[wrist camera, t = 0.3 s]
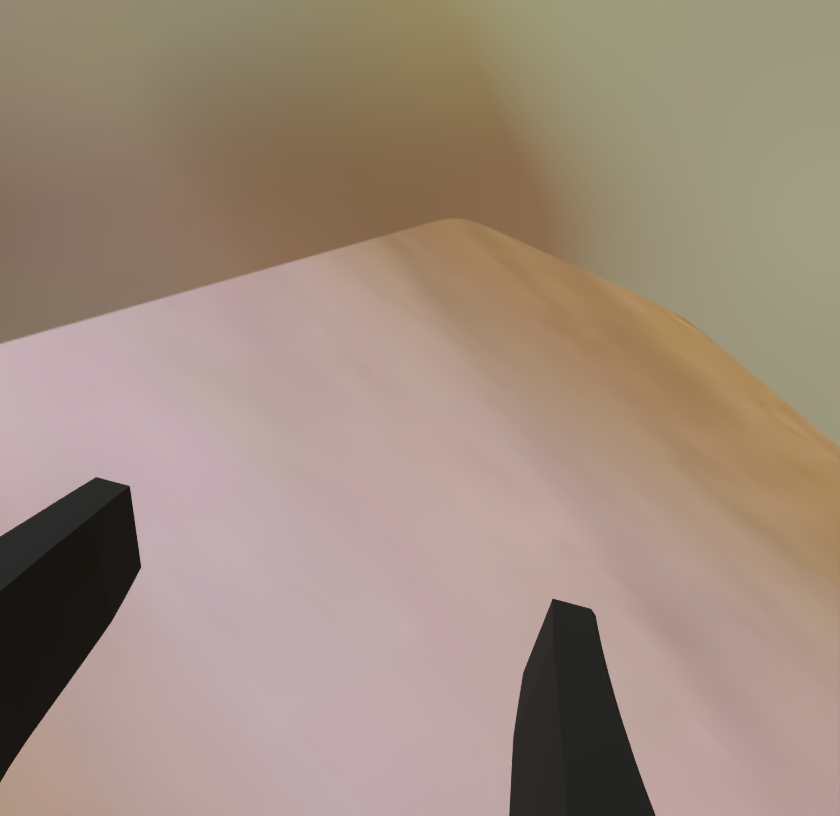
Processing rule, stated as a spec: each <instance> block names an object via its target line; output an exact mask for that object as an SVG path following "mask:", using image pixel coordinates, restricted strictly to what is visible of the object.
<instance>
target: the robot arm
mask: <svg viewBox="0 0 840 816" xmlns="http://www.w3.org/2000/svg"><path fill="white" fill-rule="evenodd" d="M140 568H141V563H140V556H139V548H138V541H137V534H136V527H135V520H134V513H133V506H132V499H131V492H130V486H127V485H123V484H120V483H116V482H112V481H108V480H105V479H101V478H97V477H96V478H94V479H93V480H91V481H89V482H88V483H86V484H84V485H83V486H81V487H79V488H78V489H76V490H74V491H73V492H71V493H70V494H68V495H66V496H65V497H63V498H61V499H60V500H58V501H57V502H55V503H53V504H52V505H50V506H49V507H47V508H46V509H44V510H42V511H41V512H39V513H38V514H36V515H34V516H33V517H31V518H30V519H28V520H26V521H25V522H23V523H22V524H20V525H18V526H17V527H15V528H13V529H12V530H10V531H9V532H7V533H5V534H4V535H2V536H0V782H1V780H2V778H3V777H4V775H5V773H6V772H7V770H8V768H9V767H10V765H11V764H12V762H13V761H14V759H15V757H16V756H17V754H18V753H19V751H20V750H21V748H22V747H23V745H24V744H25V742H26V741H27V739H28V738H29V737H30V735H31V734H32V732H33V731H34V730H35V728H36V727H37V725H38V724H39V723H40V721H41V720H42V718H43V717H44V716H45V714H46V713H47V712H48V710H49V709H50V707H51V706H52V705H53V703H54V702H55V700H56V699H57V698H58V696H59V695H60V693H61V692H62V691H63V689H64V688H65V686H66V685H67V684H68V682H69V681H70V680H71V678H72V677H73V675H74V674H75V673H76V671H77V670H78V668H79V667H80V666H81V664H82V663H83V661H84V660H85V659H86V657H87V656H88V654H89V653H90V652H91V650H92V649H93V647H94V646H95V644H96V643H97V642H98V640H99V639H100V637H101V636H102V635H103V633H104V632H105V630H106V629H107V627H108V626H109V624H110V623H111V622H112V620H113V618H114V616H115V615H116V613H117V611H118V609H119V607H120V606H121V604H122V602H123V600H124V599H125V597H126V595H127V593H128V591H129V589H130V587H131V585H132V583H133V582H134V580H135V578H136V576H137V574H138V572H139V570H140ZM509 816H655V813H654V810H653V808H652V805H651V802H650V800H649V797H648V795H647V792H646V789H645V787H644V784H643V781H642V778H641V776H640V773H639V770H638V767H637V764H636V761H635V759H634V755H633V752H632V749H631V746H630V743H629V740H628V737H627V734H626V731H625V728H624V725H623V722H622V719H621V715H620V712H619V709H618V705H617V702H616V699H615V695H614V692H613V688H612V684H611V681H610V677H609V673H608V670H607V666H606V662H605V658H604V654H603V649H602V645H601V641H600V636H599V631H598V626H597V621H596V615H595V614H594V613H593V611H592V610H591V609H589V608H586V607H582V606H578V605H574V604H571V603H567V602H563V601H559V600H555V599H553V600H552V602H551V605H550V607H549V610H548V612H547V615H546V617H545V620H544V622H543V625H542V627H541V630H540V632H539V635H538V637H537V640H536V642H535V645H534V647H533V650H532V652H531V655H530V657H529V660H528V662H527V665H526V667H525V670H524V672H523V678H522V684H521V691H520V697H519V703H518V710H517V716H516V723H515V730H514V738H513V755H512V774H511V794H510V814H509Z"/></svg>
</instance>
